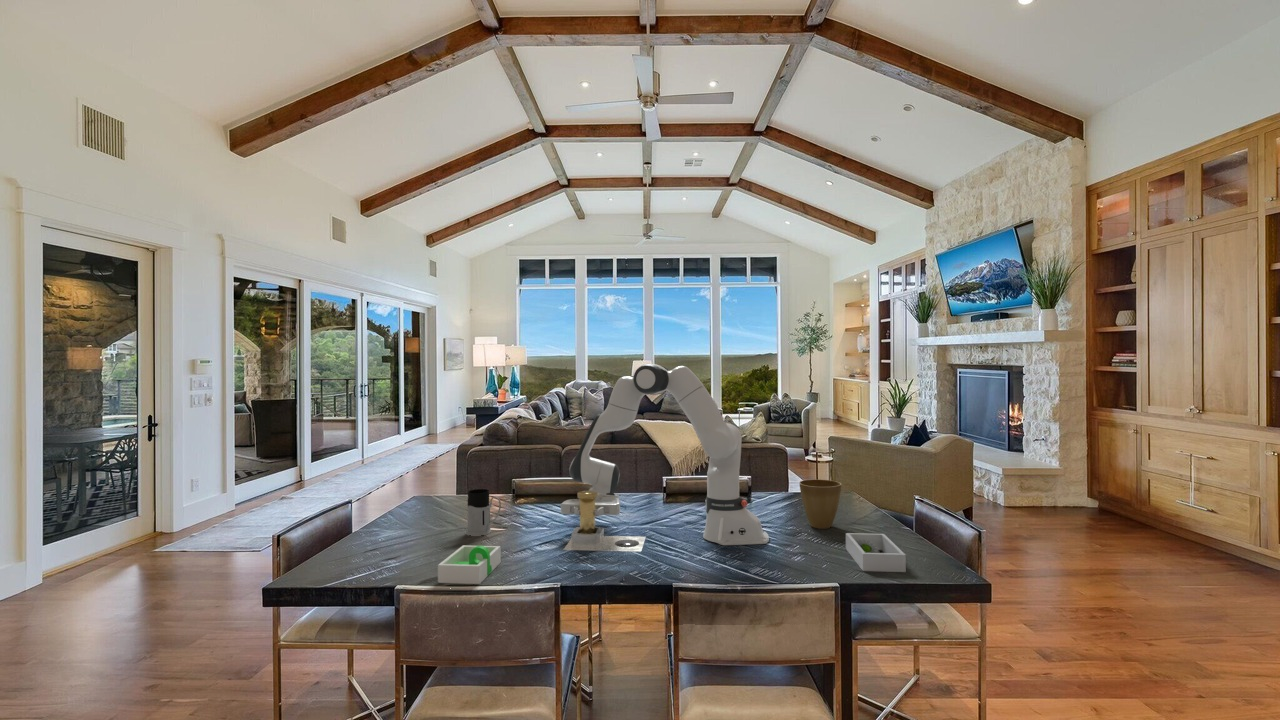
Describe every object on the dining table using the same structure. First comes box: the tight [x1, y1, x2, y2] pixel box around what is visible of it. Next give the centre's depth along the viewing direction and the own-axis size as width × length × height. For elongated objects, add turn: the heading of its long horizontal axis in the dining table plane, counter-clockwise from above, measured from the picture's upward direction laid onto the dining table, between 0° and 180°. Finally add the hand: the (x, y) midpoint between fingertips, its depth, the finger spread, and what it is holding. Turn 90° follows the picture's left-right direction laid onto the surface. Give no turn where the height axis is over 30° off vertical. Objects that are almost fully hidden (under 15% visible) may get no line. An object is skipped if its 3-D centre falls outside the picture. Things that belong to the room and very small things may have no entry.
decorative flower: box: [856, 539, 881, 553], centre depth 185 cm, size 8×6×15 cm
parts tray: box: [437, 544, 502, 585], centre depth 179 cm, size 12×18×5 cm, turn 174°
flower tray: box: [845, 532, 907, 573], centre depth 186 cm, size 12×21×5 cm, turn 174°
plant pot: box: [798, 478, 842, 530], centre depth 224 cm, size 15×15×16 cm
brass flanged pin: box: [577, 490, 597, 533], centre depth 201 cm, size 6×6×16 cm
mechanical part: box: [456, 545, 493, 576], centre depth 179 cm, size 12×6×8 cm, turn 87°
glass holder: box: [466, 488, 502, 537], centre depth 218 cm, size 9×14×15 cm, turn 64°
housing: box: [563, 526, 647, 553], centre depth 201 cm, size 25×16×6 cm, turn 84°
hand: (586, 513), depth 201 cm, fingers closed on brass flanged pin, 5 cm apart
